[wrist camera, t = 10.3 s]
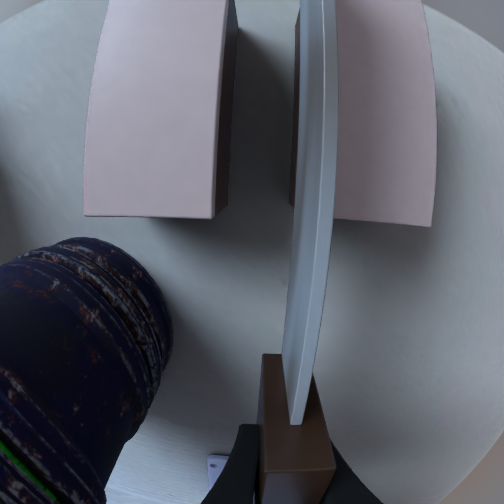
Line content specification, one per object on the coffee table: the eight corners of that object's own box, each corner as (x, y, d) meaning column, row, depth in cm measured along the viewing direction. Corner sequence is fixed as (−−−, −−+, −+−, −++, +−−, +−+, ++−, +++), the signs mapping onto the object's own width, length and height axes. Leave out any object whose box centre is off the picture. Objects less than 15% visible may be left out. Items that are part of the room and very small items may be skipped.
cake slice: (381, 211, 13) (431, 228, 9) (288, 204, 13) (304, 216, 9) (382, 40, 11) (422, 1, 7) (295, 25, 11) (308, -29, 7)
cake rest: (227, 206, 13) (212, 219, 9) (134, 204, 13) (83, 216, 9) (238, 25, 11) (230, -29, 7) (149, 32, 11) (112, -12, 7)
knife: (288, 456, 11) (295, 546, 6) (253, 455, 11) (251, 546, 6) (325, -31, 7) (357, -120, 2) (280, -36, 7) (291, -132, 2)
